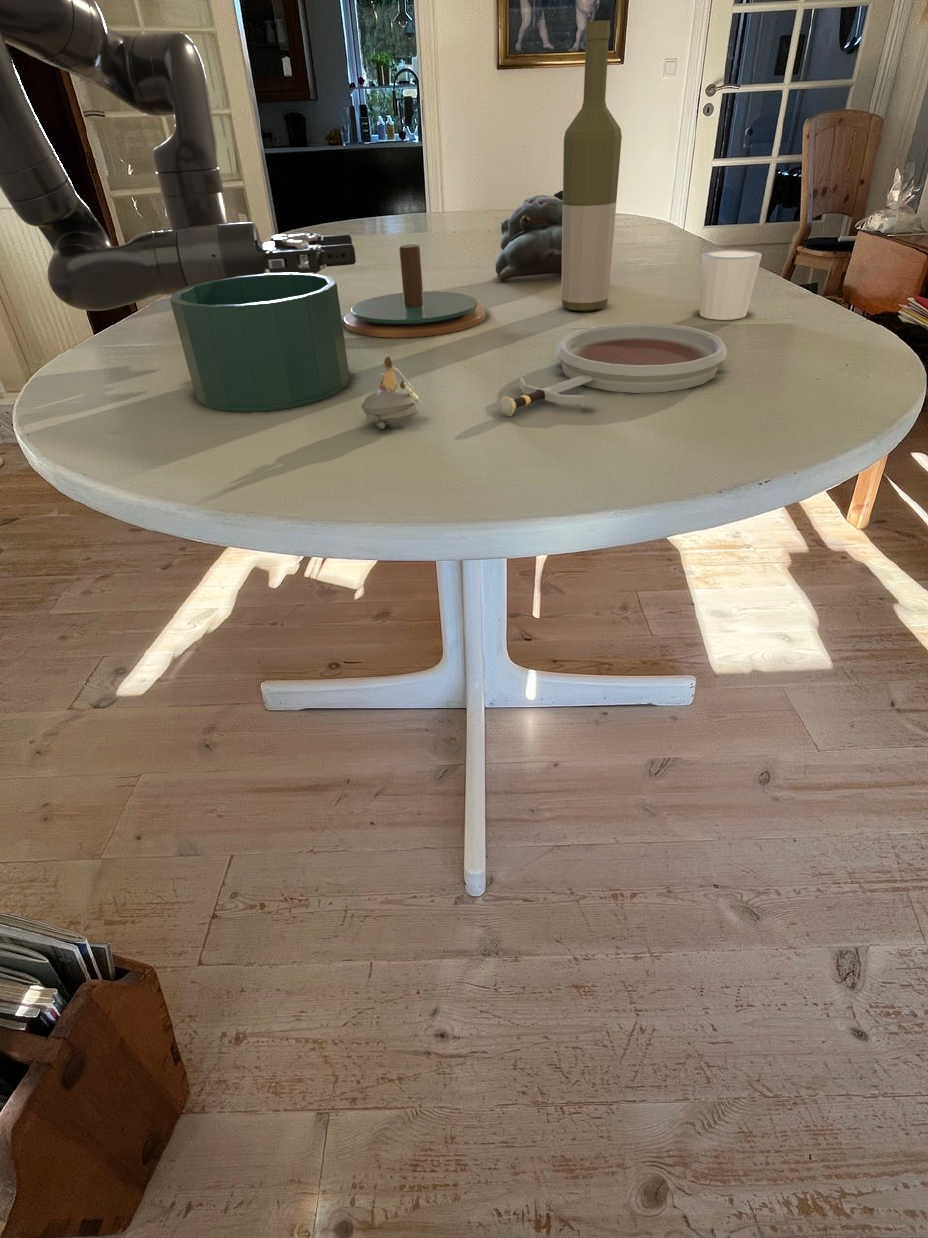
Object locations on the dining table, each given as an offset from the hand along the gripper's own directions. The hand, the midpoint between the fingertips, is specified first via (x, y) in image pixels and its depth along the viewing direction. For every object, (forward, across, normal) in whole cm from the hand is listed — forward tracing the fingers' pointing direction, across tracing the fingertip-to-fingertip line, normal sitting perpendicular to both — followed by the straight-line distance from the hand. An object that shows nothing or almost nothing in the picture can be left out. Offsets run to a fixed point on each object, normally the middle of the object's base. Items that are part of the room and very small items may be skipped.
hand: (353, 248), depth 90 cm
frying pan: (+22, -34, +9) cm, 41 cm away
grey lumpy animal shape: (+29, +21, +9) cm, 38 cm away
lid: (+7, 0, +8) cm, 10 cm away
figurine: (0, -39, +9) cm, 40 cm away
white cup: (+45, -13, +9) cm, 48 cm away
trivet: (+7, 0, +9) cm, 11 cm away
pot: (-11, -24, +9) cm, 28 cm away
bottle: (+30, -3, +9) cm, 32 cm away
